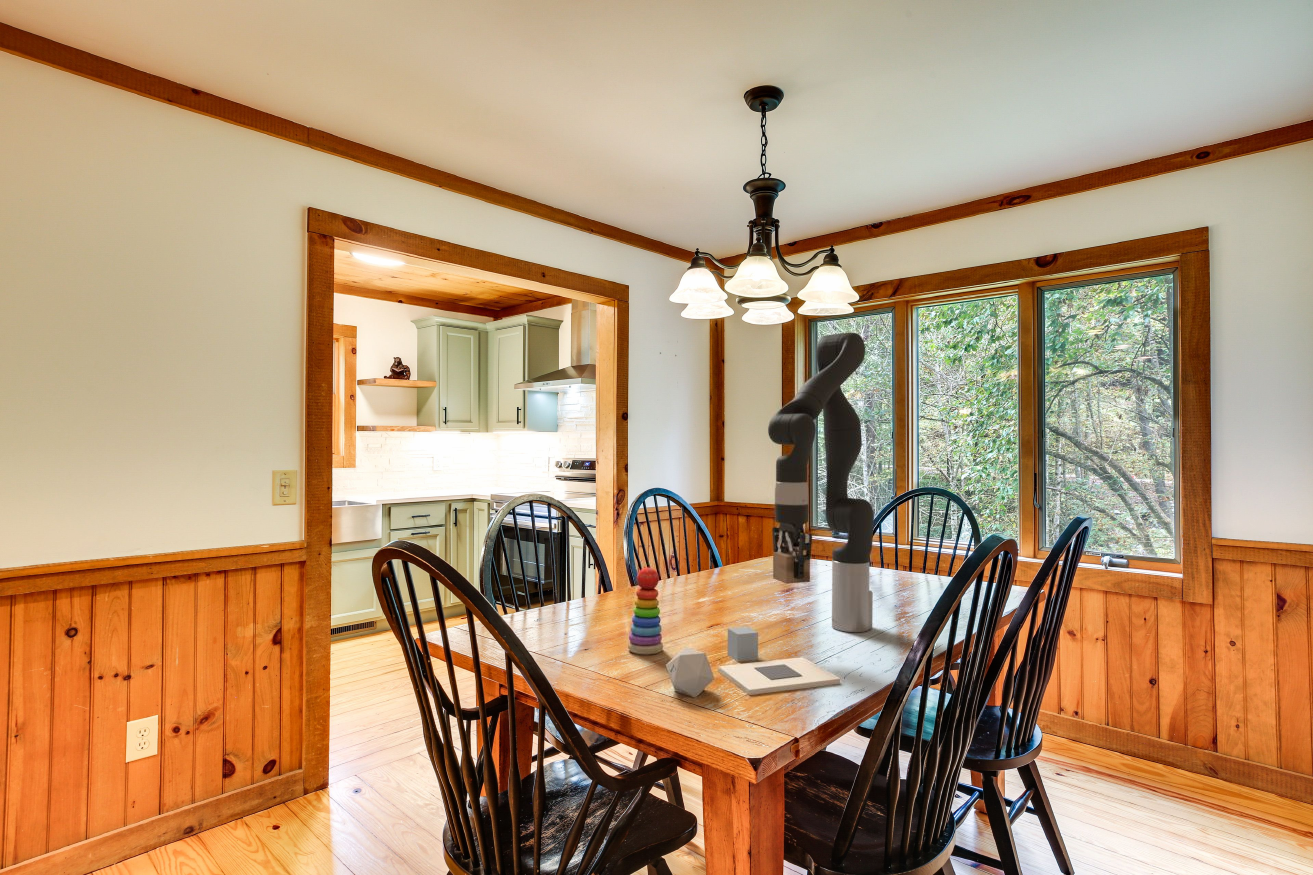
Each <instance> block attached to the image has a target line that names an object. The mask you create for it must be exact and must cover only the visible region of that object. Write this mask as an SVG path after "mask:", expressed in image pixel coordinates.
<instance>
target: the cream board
mask: <svg viewBox="0 0 1313 875" xmlns="http://www.w3.org/2000/svg"><path fill="white" fill-rule="evenodd" d="M717 669H718V672H719V673H720V674H721V675H722V676H724V677H725V678H727V679H728V680H729V681H730V682H731V683H733V685H735V686H737V687H738V688H739V689H741V690H742V691H743V692H744V693H746V694H747V695H748V696H752V695H753V696H754V695H760V694H761V695H762V694H767V693H768V694H769V693H777V692H785V691H786V692H787V691H792V690H801V689H808V688H816V687H824V686H825V687H827V686H831V685H838V684H839V685H840V684H841V678H840V677H838V676H836V674H833V673H831V672H830V671H828V670H826V669H824V668H822V666H818V665H817V664H815V663H813V661H810V660H808V659H807V658H805V657H794V658H793V657H792V658H784V659H783V658H782V659H775V660H773V659H772V660H765V661H758V662H757V661H756V662H747V663H746V662H745V663H738V664H729V665H728V664H727V665H721V666H718V668H717Z"/></svg>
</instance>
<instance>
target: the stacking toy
mask: <svg viewBox="0 0 1313 875" xmlns="http://www.w3.org/2000/svg"><path fill="white" fill-rule="evenodd" d="M659 580H660V576H659V573H658V571H656V570H655V569H654V568H652V567H644V568H641V569H640V570H639V571H638V573H637V575H636V582H637V584H638V586H639V587H640V588H638V589H637V590H636V592H635V594H636V597H637V598H635V600H634V605H635V607H634V608H633V613H634V615H633V616H632V619H631V621H632V625H631V626H630V633H629V635H628V640H629V642H628V644H627V649H628V650H629V651H630V652H631V653H633V654H637V655H643V656H645V655H646V656H647V655H655V654H659V653H660V652H661V651H662V650H663V648H664V644H663V642H662V639H663V636H662V634H661V633H662V630H663V628H662V626H661V624H660V623H661V617H660V614H661V610H660V607H659V603H660V602H659V599H658V596H659V591H658V589H656V587H657V586H658V584H659V583H660V582H659Z"/></svg>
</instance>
